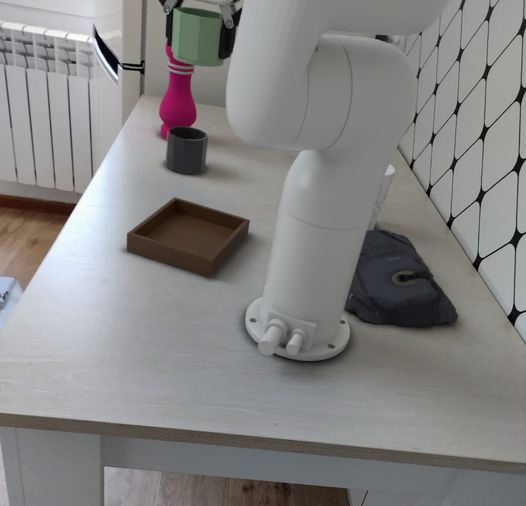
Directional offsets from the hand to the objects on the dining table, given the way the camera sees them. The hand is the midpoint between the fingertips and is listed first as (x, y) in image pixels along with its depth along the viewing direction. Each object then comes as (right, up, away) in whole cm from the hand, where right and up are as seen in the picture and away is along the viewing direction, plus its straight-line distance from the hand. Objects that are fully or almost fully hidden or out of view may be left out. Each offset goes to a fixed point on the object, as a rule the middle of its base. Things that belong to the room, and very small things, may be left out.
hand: (199, 50), depth 84 cm
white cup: (+24, -22, +13) cm, 35 cm away
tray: (-1, -27, -1) cm, 28 cm away
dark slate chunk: (+26, -33, 0) cm, 42 cm away
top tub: (0, -1, +1) cm, 1 cm away
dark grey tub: (-5, -10, +21) cm, 24 cm away
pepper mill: (-8, -1, +32) cm, 34 cm away
